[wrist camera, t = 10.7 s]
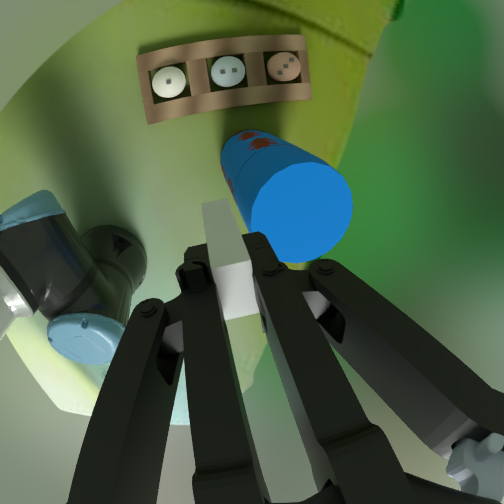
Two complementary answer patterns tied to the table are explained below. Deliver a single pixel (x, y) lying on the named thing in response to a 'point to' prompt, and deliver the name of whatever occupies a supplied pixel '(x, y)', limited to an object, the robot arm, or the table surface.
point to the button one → (169, 82)
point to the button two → (227, 71)
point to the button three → (283, 67)
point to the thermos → (286, 194)
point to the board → (210, 101)
